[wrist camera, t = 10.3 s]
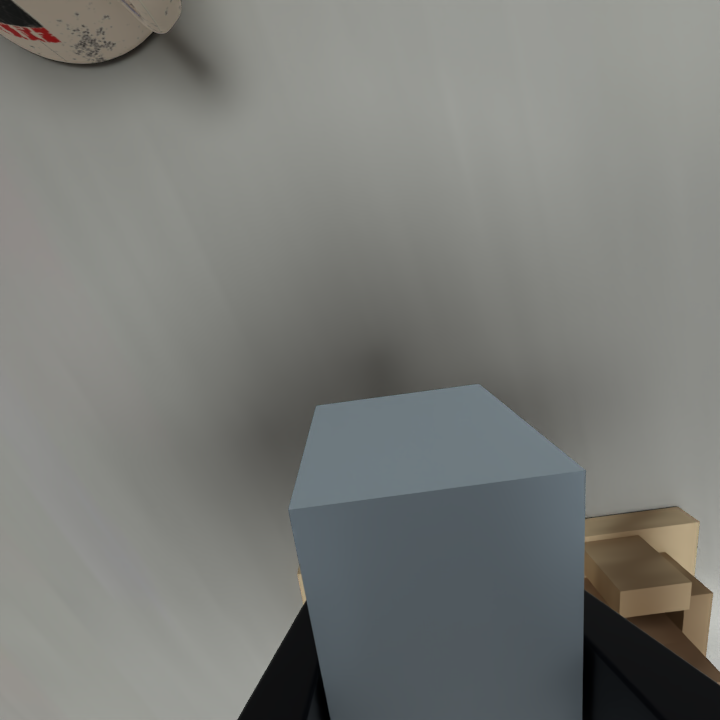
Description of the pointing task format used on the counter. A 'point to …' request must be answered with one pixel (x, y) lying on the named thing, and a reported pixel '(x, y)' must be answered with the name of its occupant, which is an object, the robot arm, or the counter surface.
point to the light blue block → (441, 560)
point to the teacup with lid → (84, 26)
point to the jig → (646, 568)
